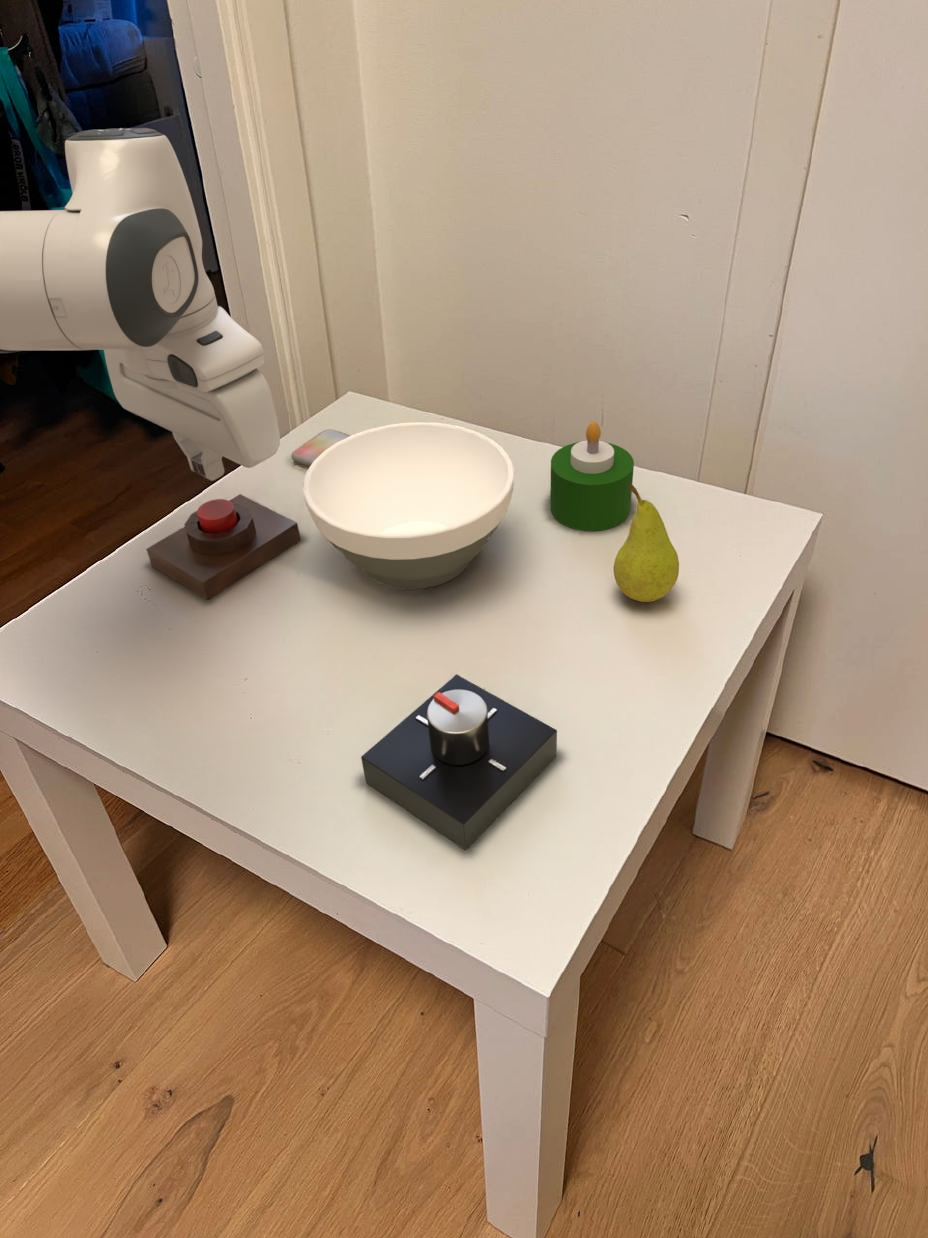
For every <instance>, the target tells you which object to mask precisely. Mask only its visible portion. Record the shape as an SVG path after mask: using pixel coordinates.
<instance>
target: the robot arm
mask: <svg viewBox="0 0 928 1238" xmlns="http://www.w3.org/2000/svg"><path fill="white" fill-rule="evenodd" d="M64 152H65V153H64V154H65V161H66V168H67V174H68V178H69V184H70V188H71V193H72V195H71V197H70V199H69V201H68V202H67V204H66V205H65V206H64V209H48V210H47V209H45V210H44V209H43V210H0V354H10V353H19V352H24V351H28V352H31V351H34V352H35V351H96V350H97V351H99V350H100V351H103V354H104V359H105V364H106V368H107V372H108V376H109V380H110V384H111V388H112V391H113V394H114V396H115V398H116V400H117V401H118V403H119V404H120V406H121V407H122V408H123V409H124V410H126V411H128V412H130V413H131V414H134V415H136V416H138V417H140V418H143V419H145V420H146V421H149V422H151V423H153V424H154V425H157V426H159V427H161V428H163V429H165V430H168V431H169V432H171V433H172V437H173V439H174V440H175V442H176V444H177V445H178V446H179V448H180V449H181V451H182V452H183V454H184V455H185V456H186V458H187V461H188V464H189V468H190V471H191V472H194V473H196V474H197V475H200V476H202V477H203V478H205V479H207V480H209V481H210V482H211V481H216V480H218V479H219V478H221V477H223V476H224V474H225V467H224V464H223V458H225V459H228V460H230V461H232V462H233V463H235V464H238V465H240V466H242V467H243V468H246V469H251V468H254V467H256V466H257V465H260V464H261V463H263V462H265V461H266V460H268V459H270V458H271V457H274V455H276V454H277V452H278V450H279V448H280V445H281V434H280V429H279V423H278V417H277V413H276V409H275V403H274V399H273V396H272V392H271V389H270V386H269V383H268V381H267V379H266V377H265V376H264V374H263V373H262V372H261V371H260V370H259V369H258V368H260V367H261V366H263V365H264V364H265V363H266V356H265V350H264V347H263V346H262V344H261V342H260V341H259V340H258V339H257V338H256V337H255V336H253V335H252V334H251V333H250V332H248V331H247V330H245V328H243V327H242V326H241V325H240V324H239V323H237V322H236V321H235V320H234V319H233V318H232V317H231V316H230V315H229V313H228V312H227V311H226V310H225V309H224V307H222V306H220V305H218V302H217V297H216V294H215V293H216V292H215V289H214V286H213V284H212V281H211V280H210V278H209V276H208V274H207V273H206V270H205V267H204V262H203V256H202V255H203V238H202V233H201V229H200V225H199V221H198V217H197V214H196V210H195V206H194V203H193V200H192V195H191V192H190V190H189V186H188V183H187V181H186V177H185V175H184V172H183V169H182V167H181V164H180V161H179V159H178V157H177V154H176V152H175V150H174V147H173V145H172V143H171V142H170V140H169V138H168V137H167V136H166V135H165V134H163V133H161V132H159V131H157V130H156V129H154V128H149V127H129V128H128V127H123V128H122V127H119V128H106V129H105V128H104V129H98V128H97V129H88V130H87V129H86V130H82V131H79V132H78V131H77V132H76V133H73V134H72V135H71V136H70V137H68V138H67V139H66V140H65V141H64Z"/></svg>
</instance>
